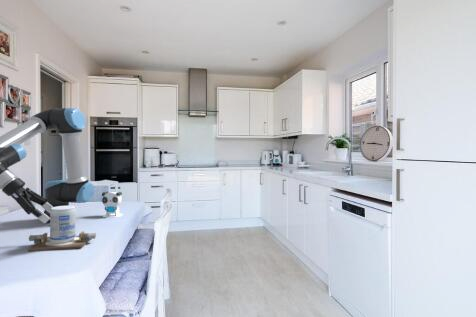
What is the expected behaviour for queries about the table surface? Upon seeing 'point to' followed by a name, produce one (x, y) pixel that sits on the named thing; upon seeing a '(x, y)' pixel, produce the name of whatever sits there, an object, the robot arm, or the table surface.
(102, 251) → the table surface
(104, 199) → the panda figurine
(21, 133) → the robot arm
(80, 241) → the shaft board
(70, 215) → the supplement tub
